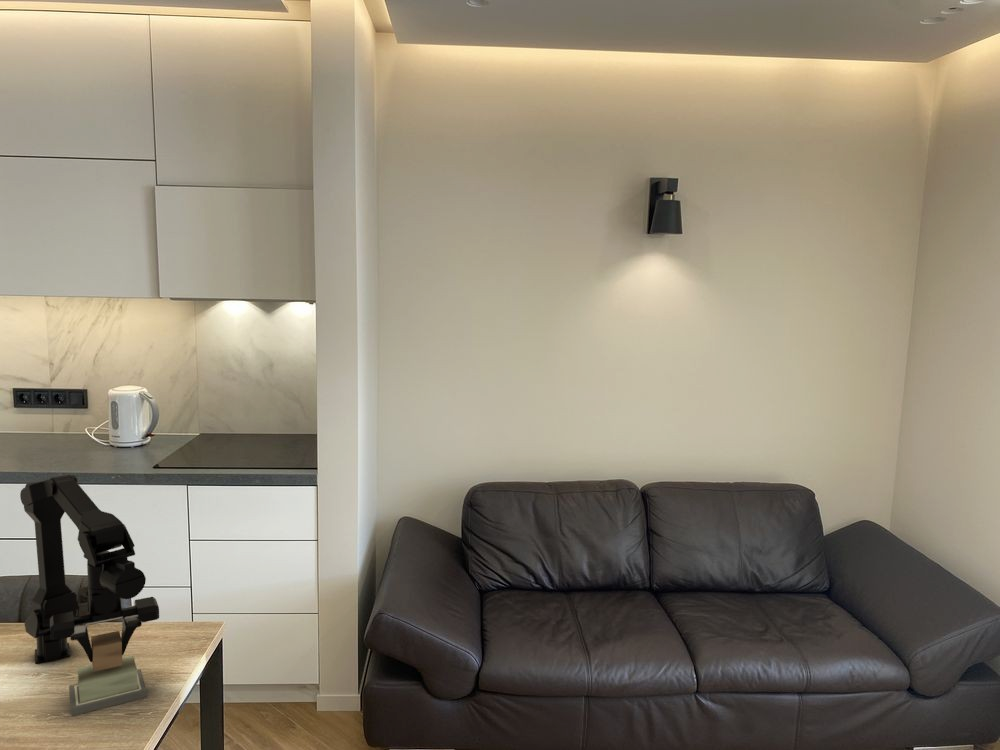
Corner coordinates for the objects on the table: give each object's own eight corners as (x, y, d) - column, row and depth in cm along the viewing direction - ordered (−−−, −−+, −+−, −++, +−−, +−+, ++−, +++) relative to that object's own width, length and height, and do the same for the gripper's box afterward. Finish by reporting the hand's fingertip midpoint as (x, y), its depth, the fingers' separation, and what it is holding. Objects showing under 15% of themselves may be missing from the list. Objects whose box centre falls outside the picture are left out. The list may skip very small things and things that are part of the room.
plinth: (69, 692, 144) (69, 685, 143) (141, 675, 151) (140, 668, 151) (71, 716, 136) (71, 708, 136) (146, 697, 143) (146, 689, 143)
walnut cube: (91, 659, 143) (91, 636, 143) (119, 653, 146) (119, 630, 145) (93, 671, 139) (92, 647, 138) (122, 665, 142) (121, 641, 141)
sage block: (78, 686, 143) (77, 668, 143) (133, 673, 149) (133, 655, 148) (80, 703, 138) (79, 683, 137) (137, 688, 143) (137, 670, 143)
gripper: (151, 560, 152) (152, 629, 154) (47, 577, 142) (50, 650, 144) (158, 580, 143) (160, 653, 145) (49, 599, 133) (52, 677, 135)
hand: (106, 657), depth 142 cm, fingers closed on walnut cube, 5 cm apart
